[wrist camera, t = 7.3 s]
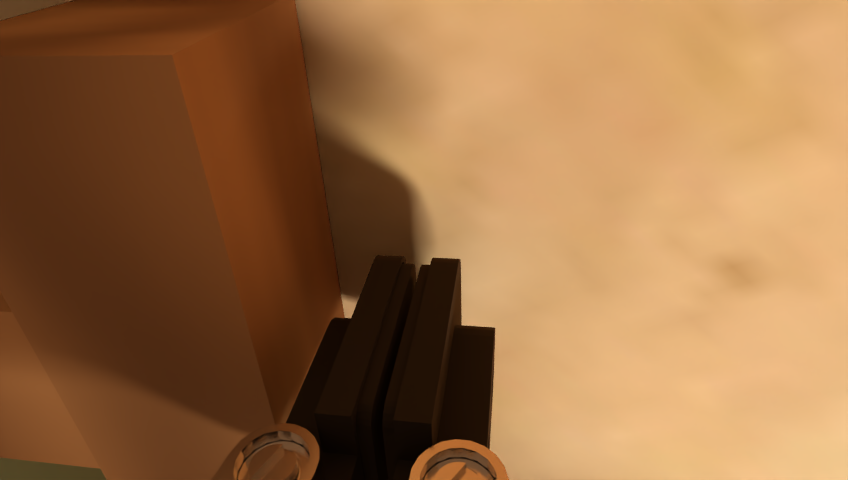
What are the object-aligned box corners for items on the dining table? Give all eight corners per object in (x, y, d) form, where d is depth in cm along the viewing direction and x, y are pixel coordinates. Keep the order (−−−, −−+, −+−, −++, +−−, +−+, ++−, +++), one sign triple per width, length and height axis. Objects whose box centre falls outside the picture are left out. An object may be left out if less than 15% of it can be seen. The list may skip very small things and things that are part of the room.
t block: (293, -7, 10) (172, 55, 6) (364, 447, 16) (323, 597, 13) (-276, 6, 11) (-607, 60, 8) (-6, 411, 18) (-127, 534, 14)
